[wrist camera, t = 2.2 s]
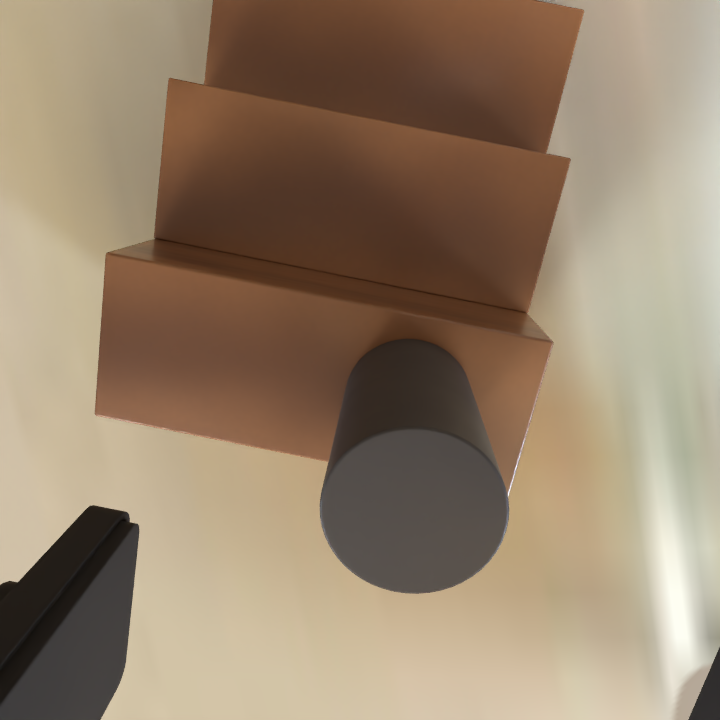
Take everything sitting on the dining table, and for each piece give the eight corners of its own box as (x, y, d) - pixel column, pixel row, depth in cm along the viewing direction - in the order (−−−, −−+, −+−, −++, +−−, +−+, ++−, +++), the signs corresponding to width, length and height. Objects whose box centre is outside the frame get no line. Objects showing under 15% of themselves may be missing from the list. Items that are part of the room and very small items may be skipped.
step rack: (238, -39, 26) (134, -178, 16) (564, 27, 26) (676, -69, 16) (195, 333, 31) (93, 416, 21) (470, 388, 31) (508, 498, 21)
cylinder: (357, 326, 19) (337, 409, 13) (484, 352, 19) (532, 448, 13) (334, 443, 20) (305, 575, 14) (454, 467, 20) (482, 610, 14)
